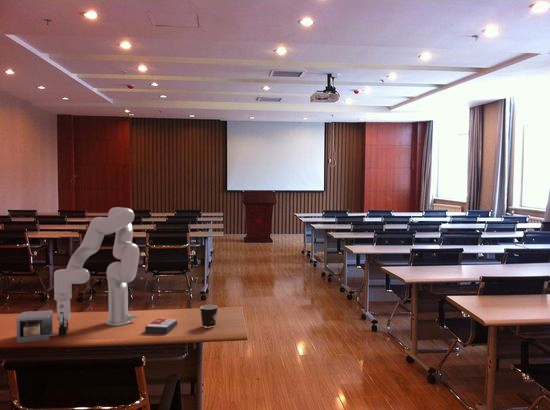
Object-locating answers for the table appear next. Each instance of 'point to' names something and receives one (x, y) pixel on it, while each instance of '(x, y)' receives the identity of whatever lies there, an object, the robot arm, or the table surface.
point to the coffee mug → (208, 315)
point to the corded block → (36, 329)
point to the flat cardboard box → (160, 326)
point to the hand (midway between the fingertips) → (63, 332)
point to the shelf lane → (35, 317)
